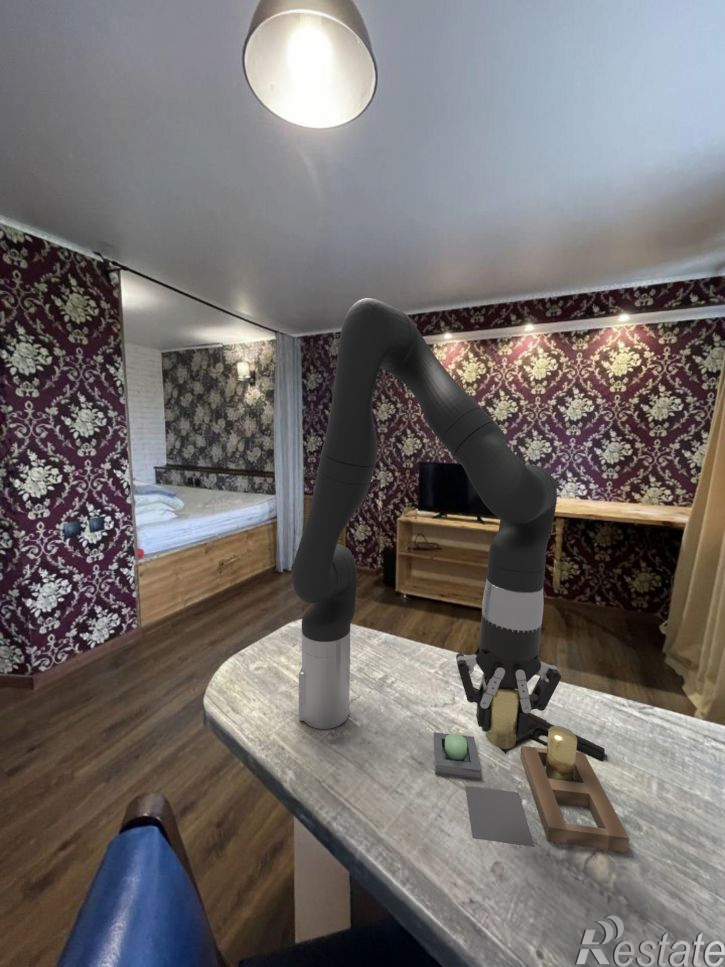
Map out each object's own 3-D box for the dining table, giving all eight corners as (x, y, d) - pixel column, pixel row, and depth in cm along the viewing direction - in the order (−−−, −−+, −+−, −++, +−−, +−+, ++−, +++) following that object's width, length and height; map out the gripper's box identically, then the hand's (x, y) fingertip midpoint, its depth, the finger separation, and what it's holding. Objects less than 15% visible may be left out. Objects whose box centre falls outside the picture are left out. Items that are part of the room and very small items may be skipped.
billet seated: (549, 790, 61) (553, 743, 60) (541, 768, 65) (545, 724, 64) (576, 793, 61) (581, 746, 60) (567, 771, 65) (571, 727, 64)
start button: (445, 760, 65) (446, 749, 64) (443, 743, 68) (444, 732, 68) (467, 762, 64) (468, 751, 64) (465, 745, 68) (465, 734, 68)
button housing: (435, 776, 64) (435, 764, 63) (433, 742, 70) (433, 732, 70) (479, 781, 63) (480, 770, 62) (473, 746, 70) (474, 736, 69)
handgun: (593, 795, 59) (606, 744, 68) (482, 734, 70) (506, 697, 79) (590, 808, 60) (604, 756, 69) (481, 745, 71) (505, 707, 80)
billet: (488, 746, 54) (492, 693, 53) (483, 725, 58) (487, 674, 57) (518, 750, 53) (523, 696, 52) (511, 728, 57) (516, 677, 56)
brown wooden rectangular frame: (547, 843, 53) (548, 827, 53) (520, 759, 67) (521, 745, 67) (627, 854, 52) (629, 838, 52) (582, 766, 66) (584, 752, 65)
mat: (472, 840, 54) (472, 837, 54) (464, 787, 61) (465, 785, 61) (534, 849, 53) (534, 846, 53) (518, 794, 60) (518, 792, 60)
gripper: (460, 622, 50) (451, 744, 53) (579, 633, 48) (564, 758, 51) (454, 597, 58) (447, 705, 60) (557, 606, 56) (545, 716, 58)
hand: (501, 728), depth 55 cm, fingers closed on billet, 4 cm apart
